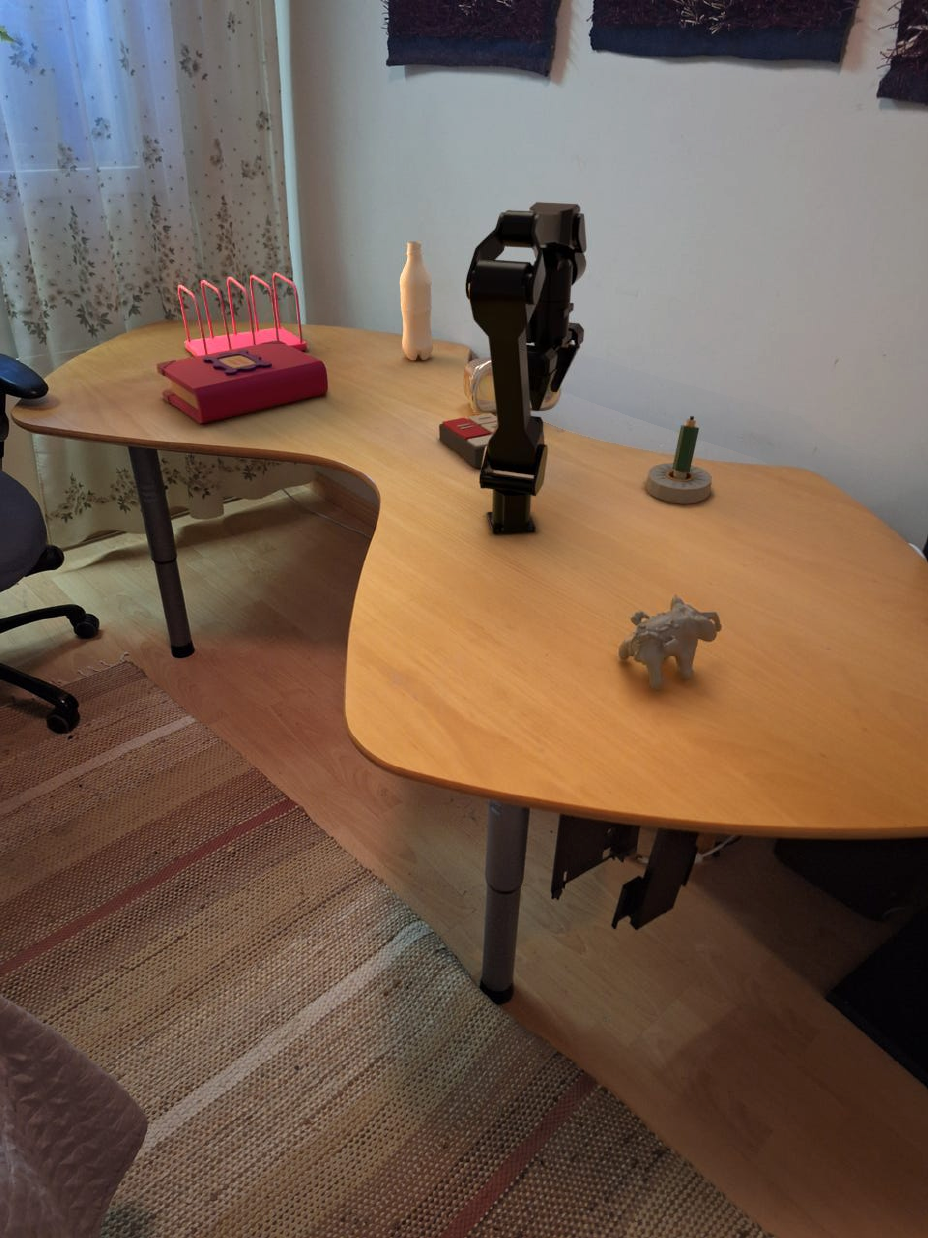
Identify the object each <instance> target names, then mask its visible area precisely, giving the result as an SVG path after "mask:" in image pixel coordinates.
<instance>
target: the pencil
mask: <svg viewBox="0 0 928 1238" xmlns="http://www.w3.org/2000/svg"><path fill="white" fill-rule="evenodd" d="M696 423H697V420H695V416H693V415H690V416H689V419H686V422H685V425H684V424H681V425H680V429H679V433H678V437H677V443H676V447H675V453H674V459H673V462H672V463H673V467H672V469H673V470H674V473H673V478H674V479H678V480H686V476H687V472H690V469H691V465H693V459H694V455H695V449H696V444H697V441H698V436H699V431H700V427H697V426H696Z"/></svg>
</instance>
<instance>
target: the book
mask: <svg viewBox="0 0 928 1238" xmlns="http://www.w3.org/2000/svg"><path fill="white" fill-rule="evenodd" d="M155 366H156V371H157V373H158V374H159V375H161V376H162V377H165V378H167V379H168V380H170V381H171V383H172V384H171V387H170V388H167V389H163V390H162V392H161V393H162V398H163V400H164V401H165V402H167V403H168V404H172V405H173V406H174V407H175V408H177V409H178V410H180V411H181V412H183V413H184V414H185V415H187V416H189V417H190V418H191V419H192V420H194V421H195V422H197V423H199V425H201V424H205V423H206V424H207V423H208V424H209V423H211V422H215V421H220V420H223V419H224V420H225V419H228V418H232V417H237V416H240V415H244V414H248V413H253V412H257V411H261V410H266V409H269V408H273V407H277V406H281V405H285V404H289V403H293V402H294V403H295V402H297V401H301V400H306V399H310V398H314V397H318V396H321V395H325V394H326V393H328V391H329V380H328V379H329V378H328V372H327V367H326V365H325V363H324V362H323V360H321V359H319V358H316V357H314V356H313V355H310V354H308V353H307V352H304V351H303V350H302V351H300V350H297V349H295V348H293V347H291V346H289V345H287V344H286V343H284V342H282V341H277V340H276V341H269V342H264V343H261V344H257V345H252V346H247V347H242V348H236V349H231V350H226V351H221V352H216V353H211V354H206V355H201V356H196V357H195V356H190V357H187V358H181V359H171V360H167V361H162V362H159V363H156V364H155Z"/></svg>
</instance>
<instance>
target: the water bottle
mask: <svg viewBox="0 0 928 1238" xmlns="http://www.w3.org/2000/svg"><path fill="white" fill-rule="evenodd" d="M406 244H407V250H406V255H407V260H406V263H405V266H404V268H403V270H402V272H401V275H400V278H399V288H400V289H399V290H400V310H401V314H402V324H403V330H402V331H403V332H402V340H401V343H402V344H401V345H402V352H403V354H404V356H405V358H408V360H410V361H417V358H418V356H419V357H420V359H421V361H427V360H428V359H429V358H430V356H431V355H432V353H433V349H434V339H433V334H432V325H431V321H432V320H431V319H432V318H431V317H432V309H433V305H432V278H431V275H430V273H429V271H428V269H427V267H426V264H425V263H424V260H423V250H422V242H421V241H415V240H414V241H413V240H411V241H407V243H406Z"/></svg>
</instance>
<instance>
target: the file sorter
mask: <svg viewBox="0 0 928 1238" xmlns="http://www.w3.org/2000/svg"><path fill="white" fill-rule="evenodd" d="M277 277H279V278H280V279H282V280H283V281H285V282H286V283H289V284H290V285H291V286H292V288H293V292H294V296H295V297H294V298H295V306H296V316H297V327H298V335H299V336H296V335H295V334H294V333H292V332H290V331H289V330H287V329H286V328H284V327H283V326H281V319H280V310H279V302H278V293H277V285H276V284H277V283H276V278H277ZM253 279H254V280H255V281H257V282H259V283H260V284H261V285H263V286H264V287H266V288H267V289H268V292H269V294H270V299H271V305H272V313H273V315H272V316H273V323H274V327H273V328H267V329H260V327H259V322H258V312H257V306H256V299H255V290H254V280H253ZM231 282H232V283H233V284H235V285H236V286H237V287H238V288H239V289H241V290H242V291H243V292H244V295H245V297H246V302H247V309H248V315H249V323H250V330H251V331H246V332H237V326H236V320H235V319H236V318H235V311H234V305H233V297H232V288H231ZM249 283H250V284H249V286H250V293H251V300H250V296H249V292H248V289H247V288H246V287H244V286H243V285H242V284H241V283H239V282H238V281H237V279H235V278H233V277H232V276H228V277H227V283H226V284H227V290H228V291H227V292H228V300H229V305H230V313H231V320H232V328H233V333H231V334H230V332H229V331H230V330H229V326H228V321H227V316H226V310H225V305H224V299H223V297H222V294H221V292H220V290H219V288H217V287H216V286H215V285H213V284H212V283H209V282H208V281H207V280H205V279H204V280H203V279H202V280H201V281H200V288H201V293H202V298H203V303H204V307H205V313H206V317H207V322H208V326H209V327H208V328H209V333H210V337H206V336H205V331H204V326H203V321H202V315H201V310H200V305H199V302H198V299H197V296H196V295H195V294H194V293H193V292H191V290H190V289H188V288H187V287H185V286H183V285H182V284H179V285H178V286H177V293H178V299H179V304H180V308H181V313H182V318H183V323H184V328H185V333H186V337H187V340H184V346H185V349H186V350H188V352H189V353H191V354H192V355H193V357H196V356H201V355H206V354H211V353H216V352H221V351H226V350H231V349H236V348H242V347H247V346H252V345H257V344H261V343H264V342H269V341H276V340H277V341H282V342H284V343H286V344H287V345H289V346H291V347H293V348H295V349H297V350H300V351H302V352H303V351H307V350H308V345H307V342H306V341H305V340H303V332H302V321H301V320H302V319H301V311H300V301H299V293H298V289H297V286H296V284H295V283H294V282H293V281H292V280H291V279H289V278H287V277H286V276H284V275H282V274H281V273H279V272H274V273H273V275H272V285H273V287H271V286H270V284H268V283H267V282H265V281H264V280H262V279H261V278H259V277H258V276H256V275H253V274H252V275H250V277H249ZM205 286H208V287H209V288H211V289H212V290H213V291H215V292H216V294H217V296H218V299H219V302H220V303H219V304H220V308H221V313H222V317H223V322H224V328H225V333H226V334H224V335H218V336H214V331H213V327H212V321H211V316H210V310H209V306H208V302H207V296H206V290H205ZM272 288H273V289H272ZM182 290H183V291H184V292H186V293H187V294H188V295H190V296H191V297H192V299H193V301H194V304H195V309H196V313H197V319H198V323H199V329H200V334H201V338H197V339H191V335H190V330H189V326H188V321H187V315H186V311H185V305H184V300H183V296H182ZM251 301H252V305H251ZM252 309H253V311H252ZM252 312H253V313H252ZM253 316H254V320H253ZM254 323H255V326H254Z"/></svg>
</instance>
